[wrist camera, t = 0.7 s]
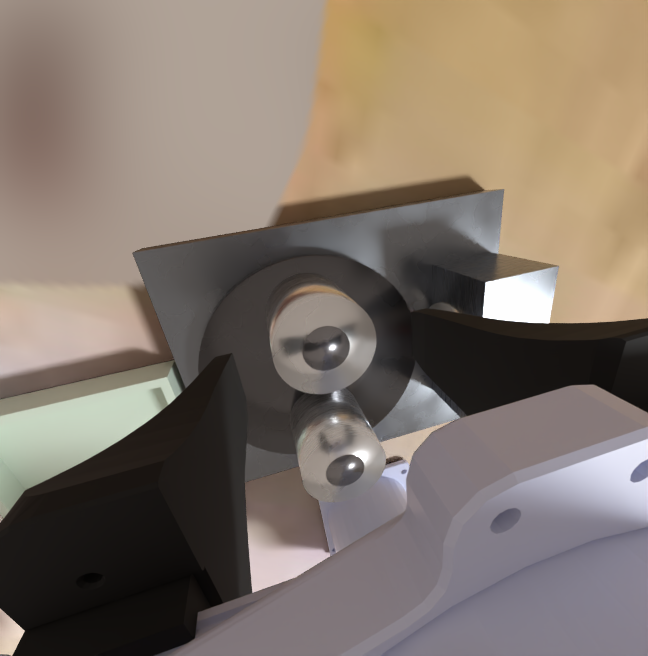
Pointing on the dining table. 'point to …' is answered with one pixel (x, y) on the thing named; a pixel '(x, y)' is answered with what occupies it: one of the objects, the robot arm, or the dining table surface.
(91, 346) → the dining table surface
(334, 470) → the spacer
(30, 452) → the tray
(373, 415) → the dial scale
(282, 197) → the dining table surface
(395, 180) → the dining table surface
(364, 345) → the cylinder
